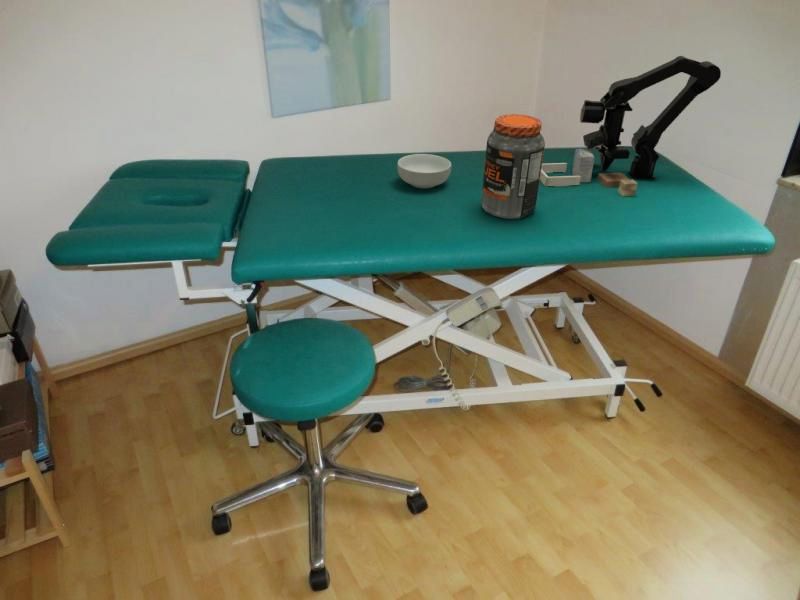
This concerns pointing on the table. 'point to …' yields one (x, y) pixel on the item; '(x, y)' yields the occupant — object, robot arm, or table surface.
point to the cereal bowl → (424, 170)
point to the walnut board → (611, 179)
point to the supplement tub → (513, 166)
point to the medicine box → (583, 164)
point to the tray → (559, 179)
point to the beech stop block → (627, 188)
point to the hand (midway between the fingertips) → (603, 170)
